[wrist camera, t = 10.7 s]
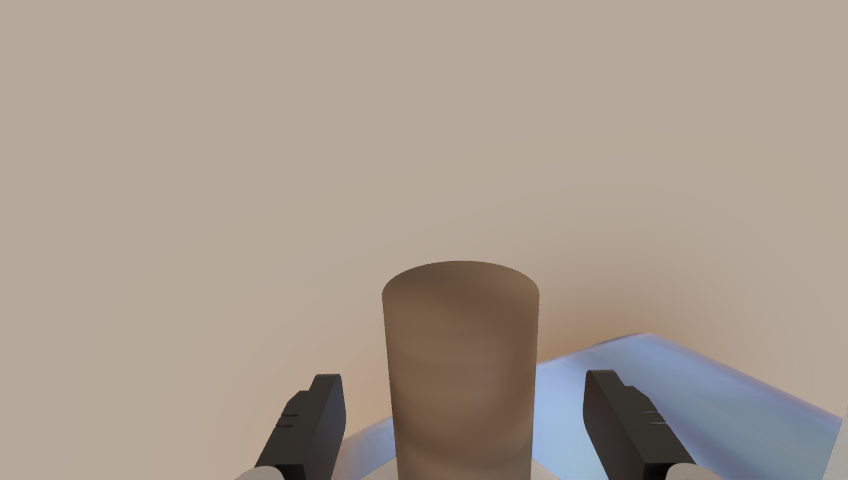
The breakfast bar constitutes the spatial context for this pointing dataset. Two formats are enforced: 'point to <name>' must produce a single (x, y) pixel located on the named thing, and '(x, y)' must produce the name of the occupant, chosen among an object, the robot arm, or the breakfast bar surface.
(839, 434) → the white stepped oval block
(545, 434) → the breakfast bar surface
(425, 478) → the plunger
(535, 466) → the grey upright block
